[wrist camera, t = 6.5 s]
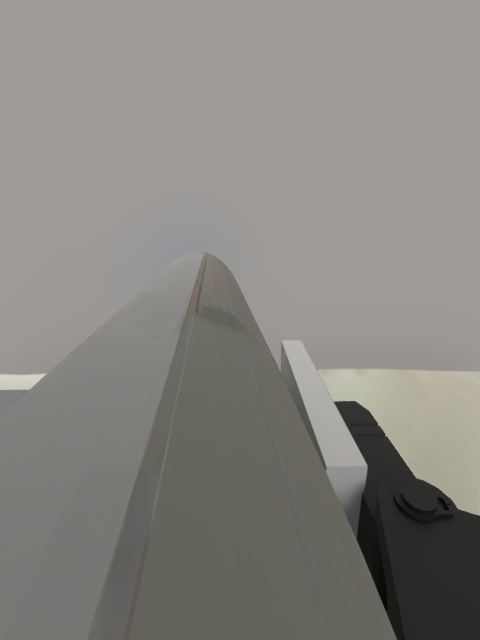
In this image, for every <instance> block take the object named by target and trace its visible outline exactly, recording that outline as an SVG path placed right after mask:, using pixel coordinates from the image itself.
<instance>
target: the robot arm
mask: <svg viewBox="0 0 480 640" xmlns="http://www.w3.org/2000/svg"><path fill="white" fill-rule="evenodd" d="M281 345H282V347H281V375H282V377H283V379H284V381H285V383H286V385H287V387H288V390H289V392H290V394H291V396H292V398H293V400H294V403H295V405H296V407H297V409H298V411H299V414H300V416H301V418H302V420H303V422H304V425H305V427H306V429H307V431H308V434H309V436H310V438H311V440H312V442H313V445H314V447H315V449H316V451H317V453H318V456H319V458H320V460H321V462H322V465H323V467H324V469H325V471H326V473H327V476H328V478H329V480H330V482H331V484H332V487H333V489H334V491H335V493H336V495H337V498H338V500H339V502H340V504H341V507H342V509H343V511H344V513H345V515H346V518H347V520H348V522H349V524H350V526H351V529H352V531H353V533H354V535H355V538H356V540H357V542H358V544H359V547H360V549H361V551H362V554H363V556H364V559H365V561H366V564H367V566H368V569H369V571H370V574H371V576H372V579H373V581H374V584H375V586H376V589H377V591H378V594H379V596H380V599H381V601H382V603H383V606H384V608H385V611H386V613H387V616H388V618H389V621H390V623H391V626H392V628H393V631H394V633H395V636H396V638H397V640H480V516H479V515H475V514H471V513H468V512H465V511H462V510H459V509H457V507H456V506H455V504H454V503H453V501H452V500H451V499H450V498H449V497H448V496H446V495H445V494H444V493H443V492H442V491H441V490H439V489H438V488H436V487H434V486H433V485H431V484H429V483H427V482H425V481H423V480H420V479H417V478H416V477H415V476H414V475H413V473H412V472H411V470H410V469H409V467H408V466H407V465H406V463H405V462H404V460H403V459H402V457H401V456H400V455H399V453H398V452H397V450H396V449H395V447H394V446H393V445H392V443H391V442H390V440H389V439H388V437H386V436H385V433H384V432H383V430H382V429H381V427H380V426H378V423H377V422H376V420H375V419H374V417H373V416H372V414H371V413H370V412H369V411H368V410H367V409H365V408H364V407H363V406H361V405H360V404H358V403H357V402H356V401H341V402H333V400H332V398H331V396H330V394H329V392H328V390H327V388H326V387H325V385H324V383H323V381H322V379H321V377H320V375H319V373H318V371H317V370H316V368H315V366H314V364H313V362H312V360H311V358H310V356H309V355H308V353H307V351H306V349H305V347H304V345H303V343H302V341H301V340H282V344H281Z"/></svg>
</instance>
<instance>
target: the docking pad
mask: <svg viewBox="0 0 480 640" xmlns="http://www.w3.org/2000/svg"><path fill="white" fill-rule="evenodd" d="M28 391H29V390H0V417H1V416H2V415H3V414H4V413H5V412H6V411H7V410H8V409H10V408H11V407H12V406H13V405H14V404H15V403H16V402H17V401H18V400H19V399H20V398H21V397H23V396H24V395H25V394H26V393H27V392H28Z"/></svg>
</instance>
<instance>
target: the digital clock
mask: <svg viewBox="0 0 480 640" xmlns="http://www.w3.org/2000/svg"><path fill="white" fill-rule="evenodd" d="M0 640H397V638H396V636H395V633H394V631H393V628H392V626H391V623H390V621H389V618H388V616H387V613H386V611H385V608H384V606H383V603H382V601H381V599H380V596H379V594H378V591H377V589H376V586H375V584H374V581H373V579H372V576H371V574H370V571H369V569H368V566H367V564H366V561H365V559H364V556H363V554H362V551H361V549H360V547H359V544H358V542H357V540H356V538H355V535H354V533H353V531H352V529H351V526H350V524H349V522H348V520H347V518H346V515H345V513H344V511H343V509H342V507H341V504H340V502H339V500H338V498H337V495H336V493H335V491H334V489H333V487H332V484H331V482H330V480H329V478H328V476H327V473H326V471H325V469H324V467H323V465H322V462H321V460H320V458H319V456H318V453H317V451H316V449H315V447H314V445H313V442H312V440H311V438H310V436H309V434H308V431H307V429H306V427H305V425H304V422H303V420H302V418H301V416H300V414H299V411H298V409H297V407H296V405H295V403H294V400H293V398H292V396H291V394H290V392H289V390H288V387H287V385H286V383H285V381H284V379H283V377H282V375H281V372H280V370H279V368H278V366H277V364H276V362H275V360H274V358H273V356H272V354H271V352H270V350H269V348H268V346H267V344H266V342H265V340H264V338H263V335H262V333H261V331H260V329H259V327H258V325H257V323H256V321H255V319H254V317H253V315H252V313H251V311H250V309H249V306H248V304H247V302H246V300H245V298H244V296H243V294H242V292H241V290H240V288H239V286H238V284H237V282H236V280H235V278H234V276H233V274H232V273H231V271H230V270H229V269H228V268H227V266H226V265H225V264H224V263H223V262H222V261H221V260H219V259H218V258H216V257H215V256H213V255H211V254H208V253H205V252H201V253H195V254H190V255H186V256H182V257H180V258H179V259H178V260H177V261H175V262H174V263H173V264H172V265H171V266H170V267H168V268H167V269H166V270H165V271H164V272H163V273H162V274H160V275H159V276H158V277H157V278H156V279H155V280H154V281H152V282H151V283H150V284H149V285H148V286H147V287H145V288H144V289H143V290H142V291H141V292H140V293H139V294H137V295H136V296H135V297H134V298H133V299H132V300H131V301H129V302H128V303H127V304H126V305H125V306H124V307H123V308H121V309H120V310H119V311H118V312H117V313H116V314H114V315H113V316H112V317H111V318H110V319H109V320H108V321H106V322H105V323H104V324H103V325H102V326H101V327H100V328H98V330H96V331H95V332H94V333H93V334H92V335H90V336H89V337H88V338H87V339H86V340H85V341H84V342H83V343H81V344H80V345H79V346H78V347H77V348H76V349H75V350H74V351H72V352H71V353H70V354H69V355H68V356H67V357H66V358H65V359H63V360H62V361H61V362H60V363H59V364H58V365H57V366H56V367H54V368H53V369H52V370H51V371H50V372H49V373H48V374H47V375H45V376H44V377H43V378H42V379H41V380H40V381H39V382H38V383H37V384H36V385H35V386H33V387H32V388H31V389H30V390H29V391H28V392H27V393H26V394H25V395H24V396H23V397H21V398H20V399H19V400H18V401H17V402H16V403H15V404H14V405H13V406H12V407H11V408H10V409H8V410H7V411H6V412H5V413H4V414H3V415H2V416H1V417H0Z"/></svg>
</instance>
